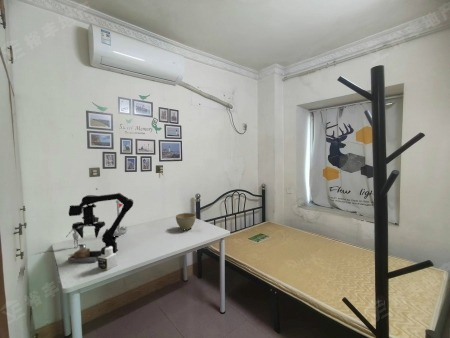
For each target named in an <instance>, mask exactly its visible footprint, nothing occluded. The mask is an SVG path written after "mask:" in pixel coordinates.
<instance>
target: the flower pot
mask: <svg viewBox="0 0 450 338" xmlns="http://www.w3.org/2000/svg"><path fill="white" fill-rule="evenodd" d="M196 219H197V214H195V213H192V212H184V213H178V214H176V215H175V220H176V223H177V225H178V226H179V228H180V229H181V230H182V229H189V230H191V229H192V228H193V226H194V225H195V222H196ZM190 228H191V229H190Z"/></svg>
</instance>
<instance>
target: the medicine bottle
mask: <svg viewBox="0 0 450 338" xmlns="http://www.w3.org/2000/svg"><path fill="white" fill-rule="evenodd" d="M100 251H101V256H99V257H98V261H97V269H99V270H103V271H108V270H111V269H112V268H114V267H116V266H118V263H117V262H118V260H117V258H118V257H117V253H113V247H112V246H105V245H104V246H103V247H101V249H100Z"/></svg>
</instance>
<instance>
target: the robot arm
mask: <svg viewBox="0 0 450 338" xmlns="http://www.w3.org/2000/svg"><path fill="white" fill-rule="evenodd" d="M114 200H115V201H116V200H119V201H120V202H119V203H120V204H123V205H122V206H121V207H122V208H121V211H119V215H118V217H116V218H115V220H114V222H113V223H112V224H111V226H110V227H109V229H108V228H106V229H105V231H104V232H103V234H102V235H101V238H102V239H101V241H102V242H103V243H104V247H105V246H112V247H113V253H115V254H117V252H118V251H119V249H118V243H117V242H116V240H117V237H114V236H113V235H114V232H115V230H116V228H117V227H118V225H119V224H121V222H122V220H123V219H124V218H125V216H126V214H127V213H128V212H129V211H130V210H131V208H132V207H133V206H134V200H133V199H131V198H128V197H127V196H125V195H123V194H122V193H120V192H117V193H112V194H111V193H109V194H101V195H94V194H93V195H92V194H88V195H87V194H86V195H85V196H83V197H82V199H81V202H80V204H77V205H74V204H73V205H69V209H68V215H69V217H74V216H75V217H76V216H82V215H83V216H82V217H81V218H82V220H83V221H77V222H73V223H74V224H73V223H72V225H71V230H72V229H74V230H76V231H77V232H78V234H79V236H80V238H81V239H83V238H84V232H83V231H84V227H94V228H93V229H94V236H95V238H98V236H99V233H100V231H101V229H102V228H103V227H104V226H106V222H105V221H104V220H103V221H99V217H97V216H95V214H94V209H95V208H97V205H96V204H95V203H99V202H107V201H114Z"/></svg>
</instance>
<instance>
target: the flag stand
mask: <svg viewBox="0 0 450 338" xmlns="http://www.w3.org/2000/svg"><path fill="white" fill-rule="evenodd" d="M115 203H116V211H117V213H116V214H117V217H118V215H119V213H120V208H121V207H123V205H124V204H122V203H121V202H120V201H119V200H117V199H115ZM117 217H116V218H117ZM120 224H121V223H120ZM120 224H119V225H118V227H117V228H116V230H115V232H114V235H113V236H121V235H124V234H126V235H127V232H128V227H127V226H125V227H124V226H122V225H121V226H120ZM124 236H125V235H124ZM121 237H122V236H121Z"/></svg>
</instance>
